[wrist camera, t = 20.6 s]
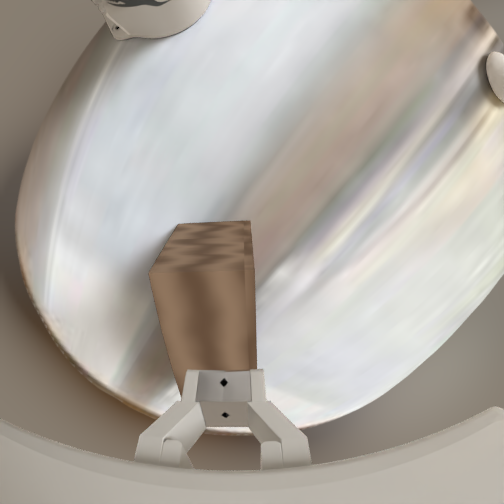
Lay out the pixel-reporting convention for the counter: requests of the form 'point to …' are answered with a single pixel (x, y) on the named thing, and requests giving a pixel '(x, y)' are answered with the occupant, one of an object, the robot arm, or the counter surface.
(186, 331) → the button panel
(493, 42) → the counter surface
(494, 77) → the flower in vase
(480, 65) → the counter surface
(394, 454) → the robot arm
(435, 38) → the counter surface
